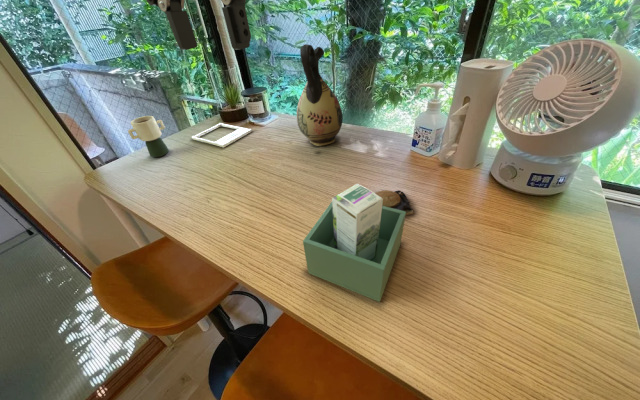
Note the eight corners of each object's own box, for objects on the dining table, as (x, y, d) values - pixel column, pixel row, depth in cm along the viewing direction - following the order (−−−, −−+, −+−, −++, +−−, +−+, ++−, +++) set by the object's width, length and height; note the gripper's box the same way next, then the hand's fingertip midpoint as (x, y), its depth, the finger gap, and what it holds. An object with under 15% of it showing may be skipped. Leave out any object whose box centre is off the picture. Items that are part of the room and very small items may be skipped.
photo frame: (222, 144, 91) (191, 136, 99) (223, 147, 92) (192, 139, 100) (250, 128, 100) (220, 122, 109) (251, 131, 101) (221, 125, 109)
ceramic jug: (308, 130, 98) (298, 39, 80) (347, 132, 94) (346, 37, 75) (291, 150, 86) (274, 49, 67) (335, 154, 81) (330, 47, 63)
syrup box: (355, 239, 51) (356, 181, 42) (377, 257, 48) (383, 196, 39) (334, 254, 49) (330, 195, 40) (356, 274, 45) (357, 214, 36)
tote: (379, 302, 42) (384, 269, 36) (308, 273, 47) (302, 241, 42) (400, 244, 51) (406, 211, 45) (338, 225, 56) (336, 194, 51)
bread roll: (368, 221, 57) (369, 209, 54) (360, 198, 63) (361, 186, 61) (415, 216, 57) (418, 203, 54) (403, 193, 63) (404, 181, 61)
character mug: (171, 146, 97) (155, 112, 89) (179, 151, 93) (162, 116, 84) (141, 157, 91) (120, 122, 83) (148, 163, 87) (127, 127, 79)
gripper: (43, -181, 20) (147, 55, 30) (157, -277, 14) (238, 55, 24) (134, -148, 25) (197, 44, 35) (245, -209, 19) (282, 42, 29)
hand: (214, 48), depth 30 cm, fingers open, 8 cm apart
